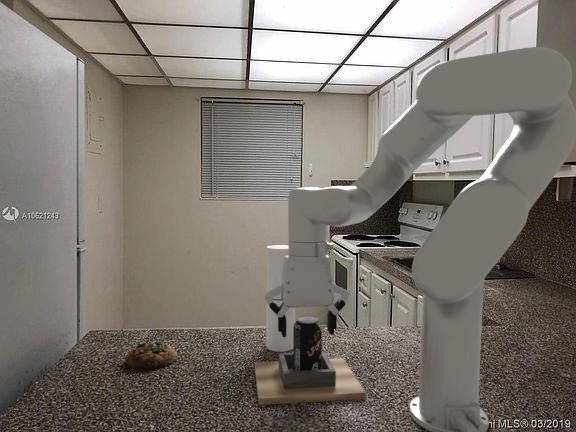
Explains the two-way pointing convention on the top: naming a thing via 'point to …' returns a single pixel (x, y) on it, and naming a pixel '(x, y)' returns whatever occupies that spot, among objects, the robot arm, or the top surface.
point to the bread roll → (150, 356)
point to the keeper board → (305, 382)
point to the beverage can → (307, 343)
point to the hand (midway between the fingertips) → (307, 333)
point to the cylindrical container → (277, 302)
